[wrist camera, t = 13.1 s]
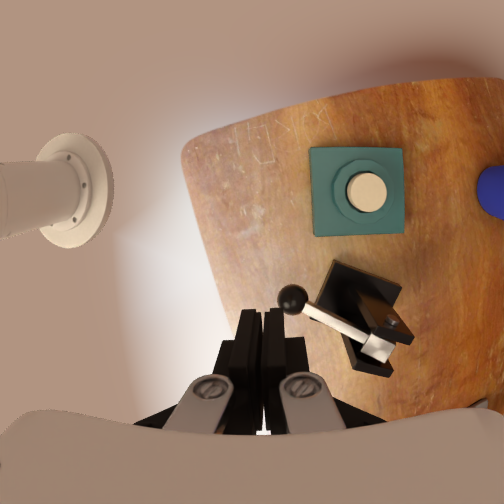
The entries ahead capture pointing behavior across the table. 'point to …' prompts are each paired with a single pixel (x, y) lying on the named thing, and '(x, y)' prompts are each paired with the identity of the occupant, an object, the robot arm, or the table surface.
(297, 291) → the lever
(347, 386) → the table surface
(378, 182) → the button
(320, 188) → the button block
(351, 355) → the bracket
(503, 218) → the mug
